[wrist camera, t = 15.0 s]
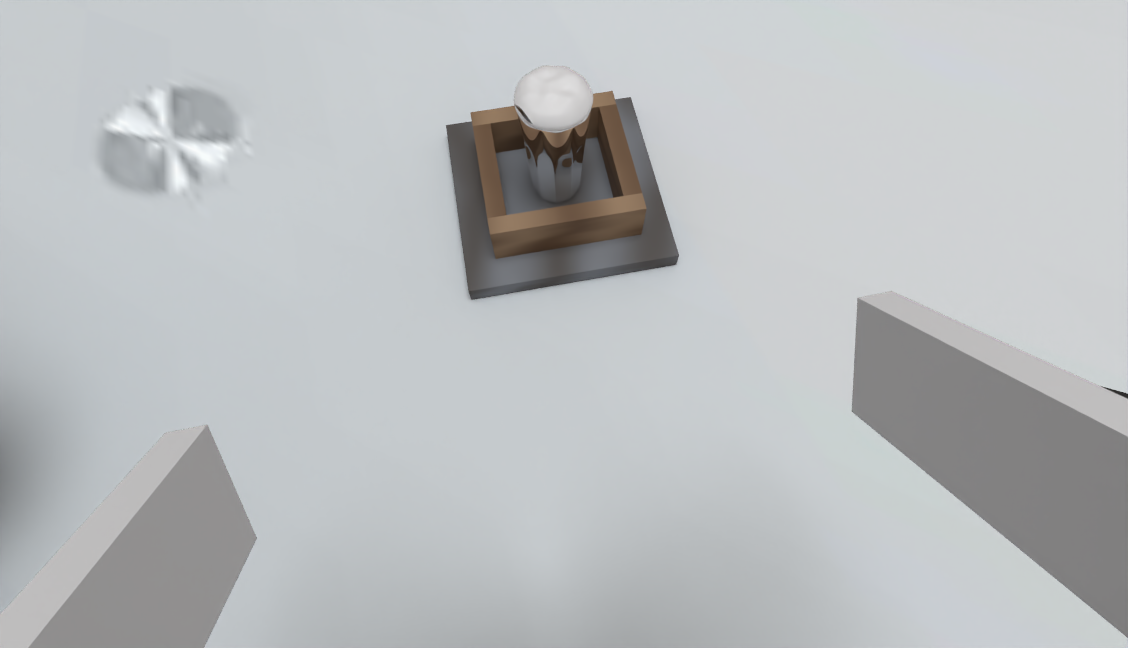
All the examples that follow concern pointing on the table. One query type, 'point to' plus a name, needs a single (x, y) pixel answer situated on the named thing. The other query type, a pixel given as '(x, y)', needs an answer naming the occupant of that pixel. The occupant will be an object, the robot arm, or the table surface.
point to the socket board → (556, 205)
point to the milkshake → (554, 128)
